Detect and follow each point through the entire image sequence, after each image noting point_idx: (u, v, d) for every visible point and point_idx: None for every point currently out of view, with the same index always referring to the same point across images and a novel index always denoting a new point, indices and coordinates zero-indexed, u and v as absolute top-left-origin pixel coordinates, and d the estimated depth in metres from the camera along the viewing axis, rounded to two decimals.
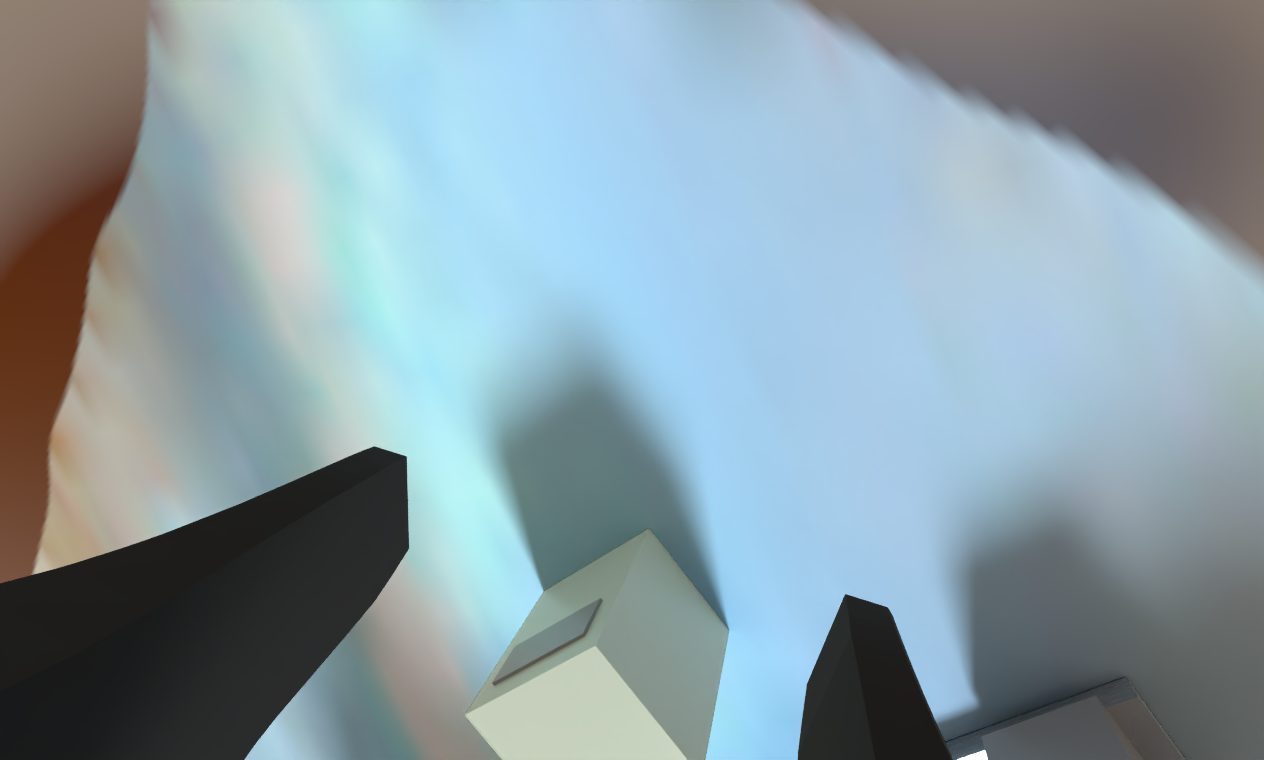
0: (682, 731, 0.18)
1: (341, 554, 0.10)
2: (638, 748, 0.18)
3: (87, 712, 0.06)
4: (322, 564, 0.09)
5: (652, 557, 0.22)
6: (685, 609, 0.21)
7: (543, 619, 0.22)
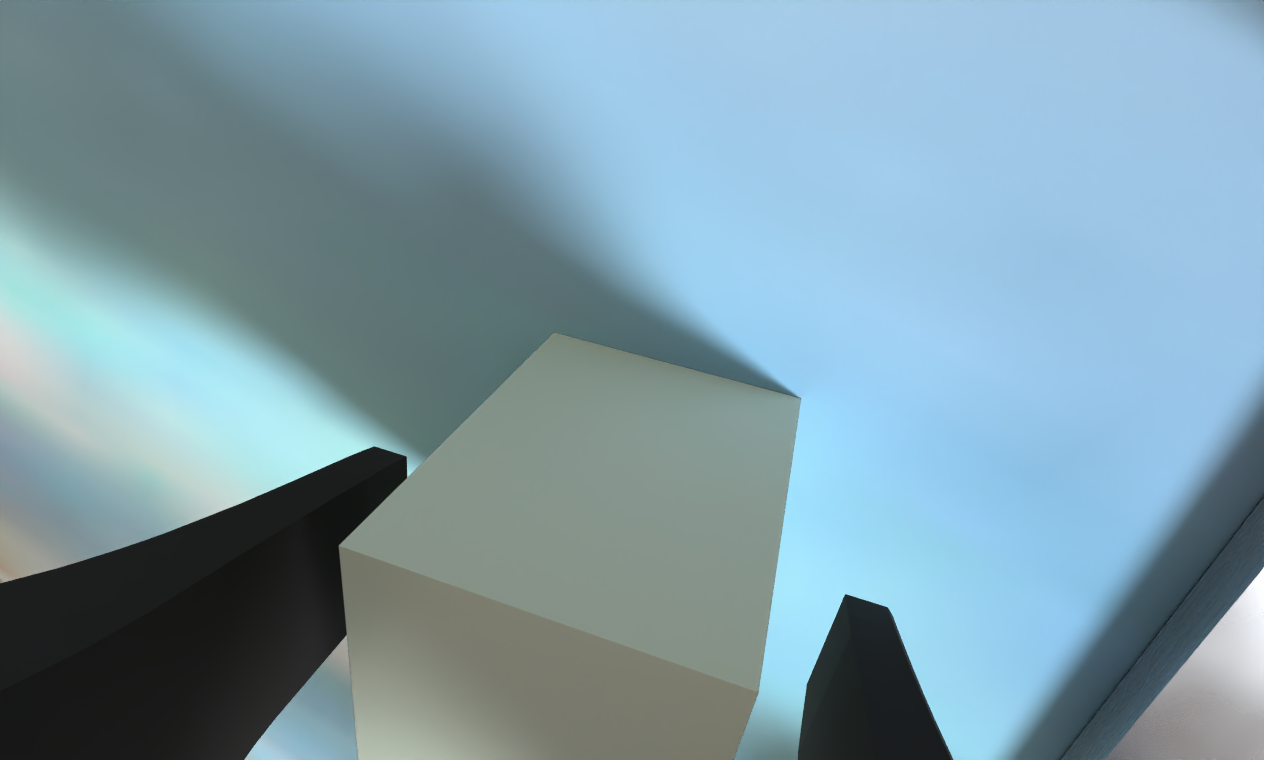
0: (668, 612, 0.07)
1: None
2: (598, 704, 0.07)
3: (87, 713, 0.06)
4: (322, 564, 0.09)
5: (561, 363, 0.11)
6: (663, 405, 0.11)
7: None
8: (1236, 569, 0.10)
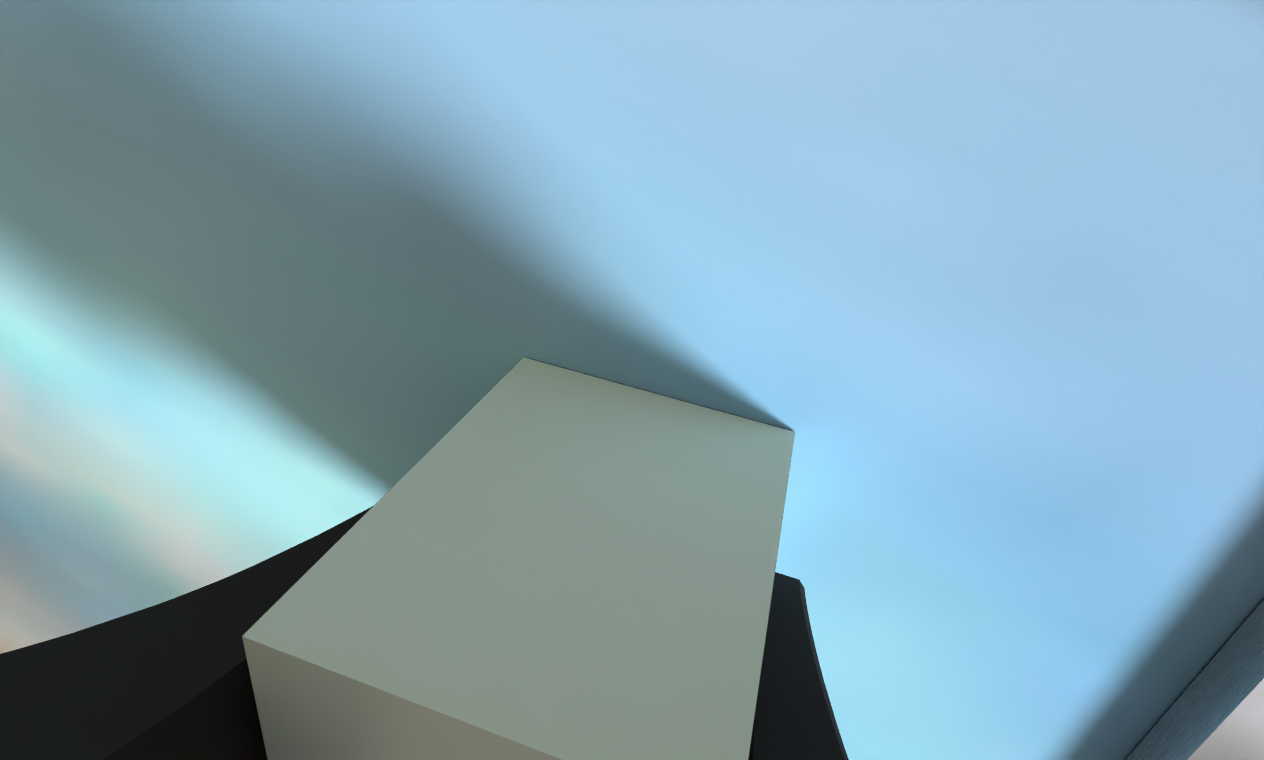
0: (634, 718, 0.06)
1: None
2: None
3: (196, 759, 0.06)
4: None
5: (528, 395, 0.10)
6: (640, 445, 0.09)
7: None
8: None
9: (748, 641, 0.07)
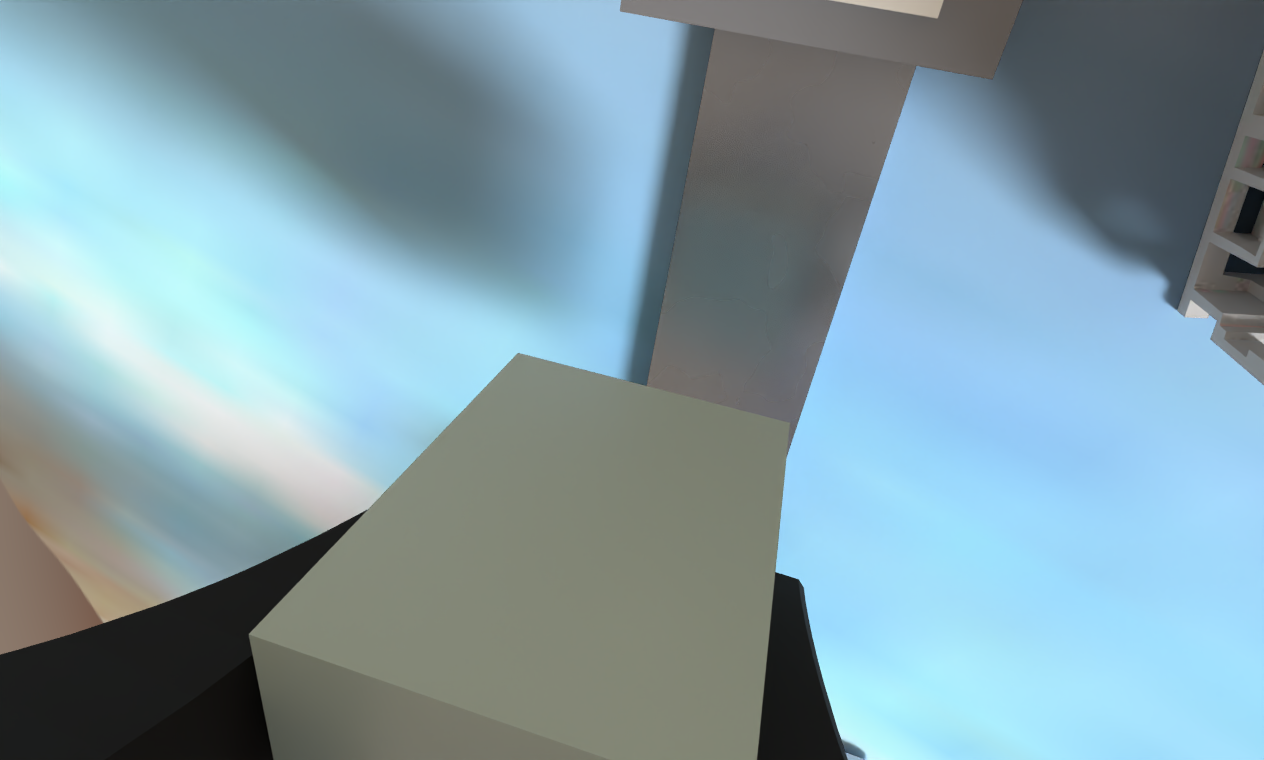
0: (645, 705, 0.06)
1: None
2: None
3: None
4: None
5: (525, 390, 0.10)
6: (639, 437, 0.09)
7: None
8: None
9: (753, 628, 0.07)
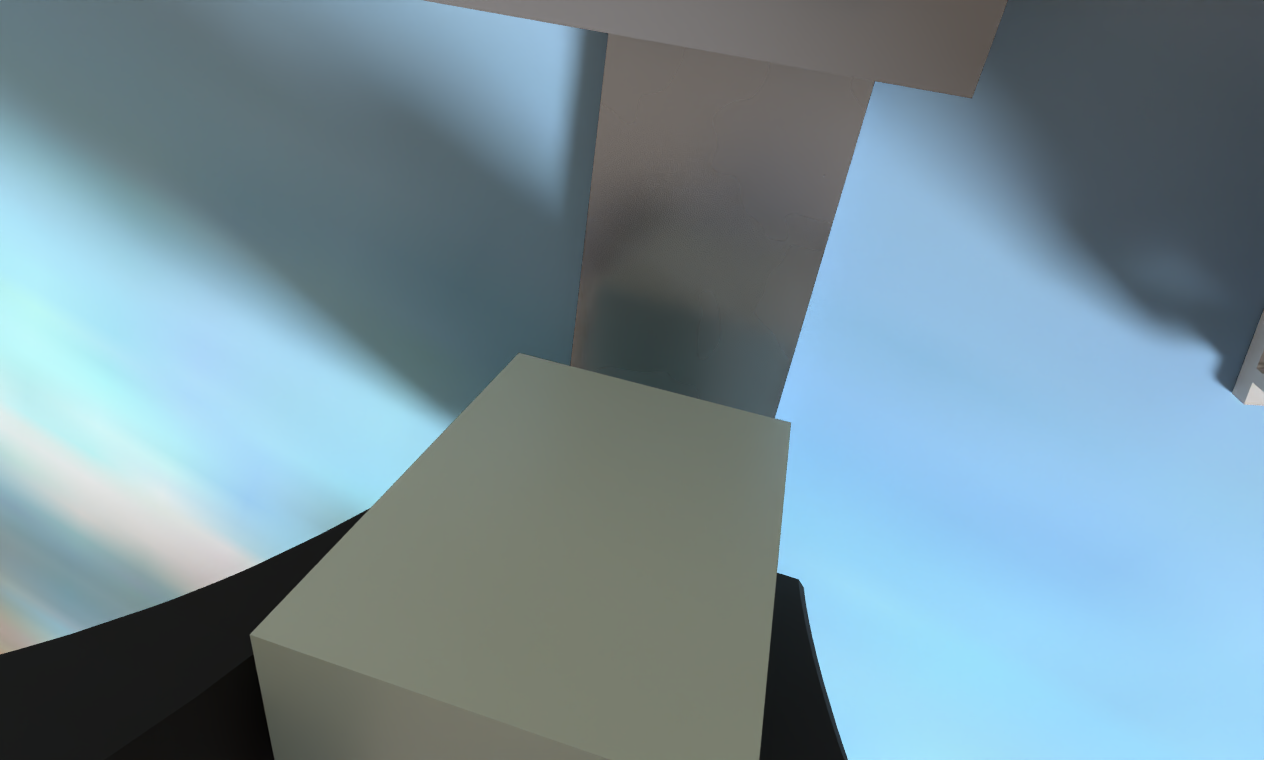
0: (646, 705, 0.06)
1: None
2: None
3: None
4: None
5: (525, 390, 0.10)
6: (639, 437, 0.09)
7: None
8: None
9: (755, 628, 0.07)
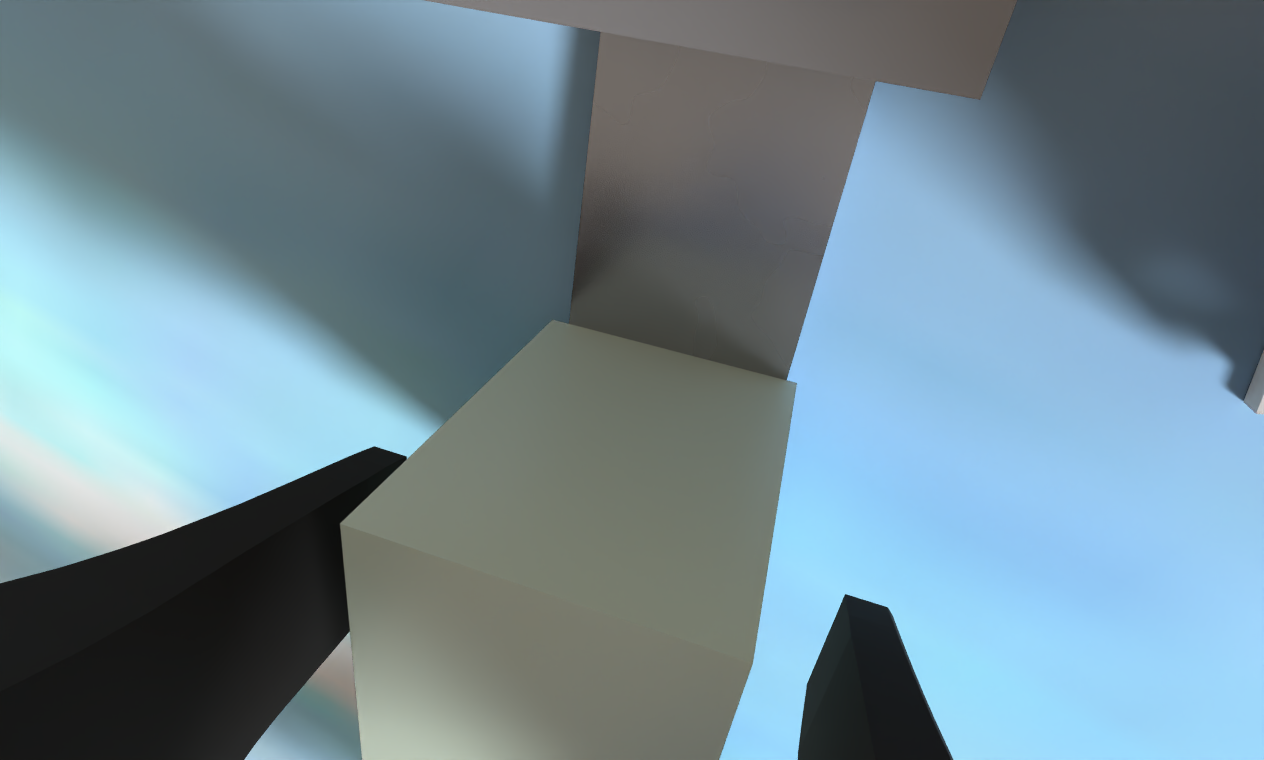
0: (665, 588, 0.07)
1: (341, 554, 0.10)
2: (596, 679, 0.07)
3: (88, 712, 0.06)
4: (322, 564, 0.09)
5: (559, 350, 0.11)
6: (661, 390, 0.11)
7: None
8: None
9: (758, 538, 0.08)
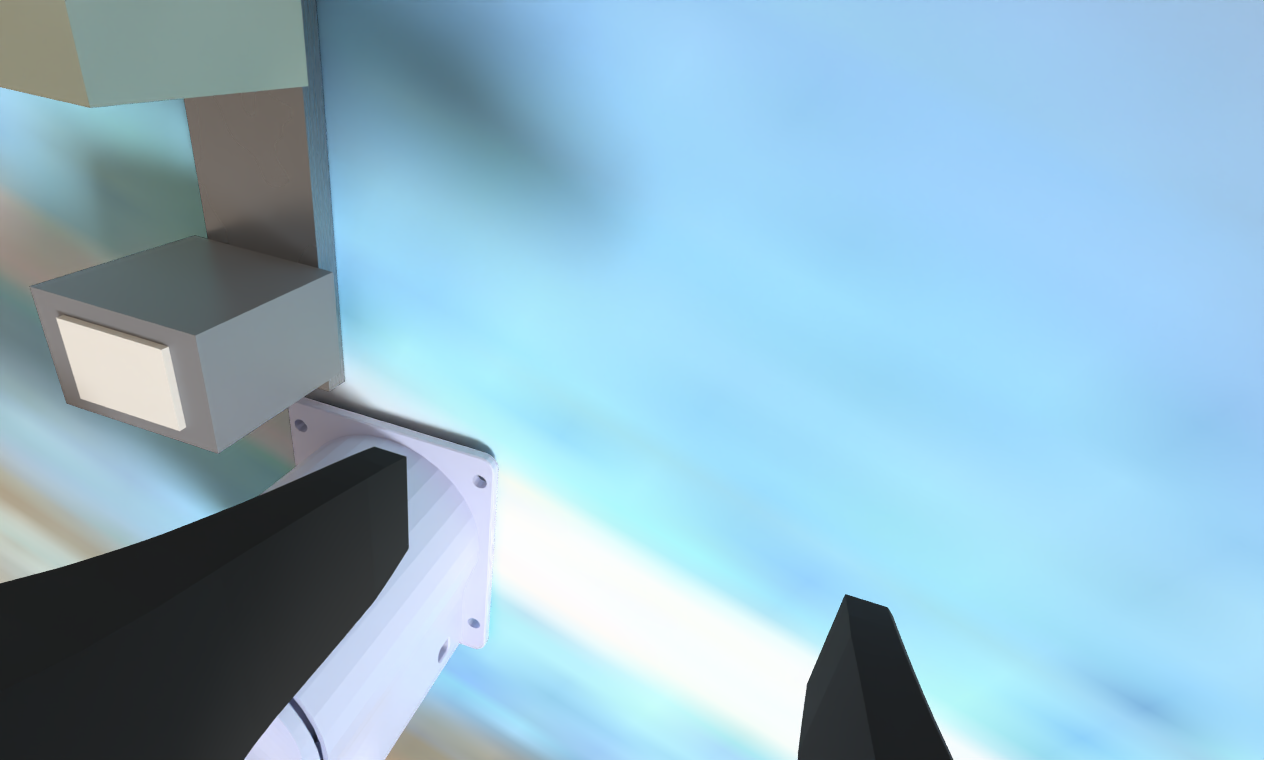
0: None
1: (341, 554, 0.10)
2: None
3: (88, 712, 0.06)
4: (322, 564, 0.09)
5: None
6: None
7: None
8: None
9: None
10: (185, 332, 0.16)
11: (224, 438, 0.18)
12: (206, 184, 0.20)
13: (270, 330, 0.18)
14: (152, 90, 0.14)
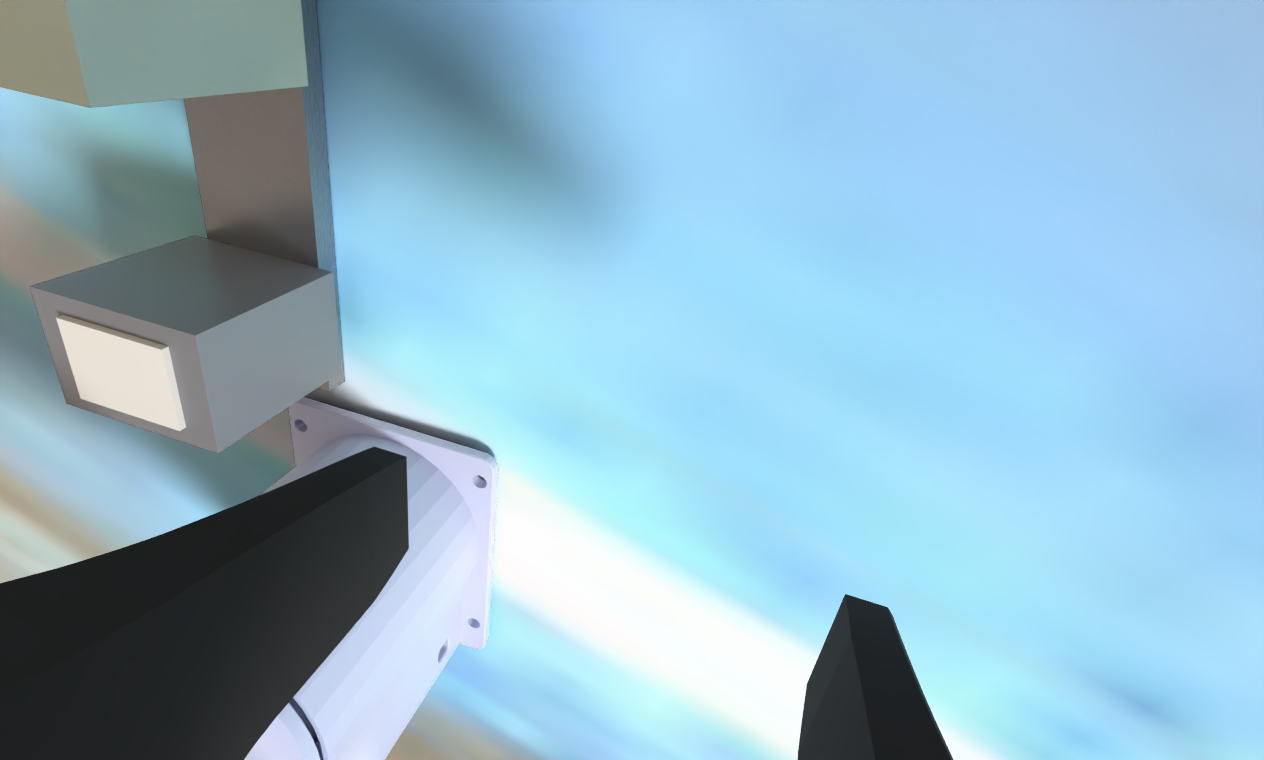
0: None
1: (341, 554, 0.10)
2: None
3: (88, 712, 0.06)
4: (322, 564, 0.09)
5: None
6: None
7: None
8: None
9: None
10: (184, 332, 0.16)
11: (224, 438, 0.18)
12: (206, 184, 0.20)
13: (270, 330, 0.18)
14: (152, 90, 0.14)
